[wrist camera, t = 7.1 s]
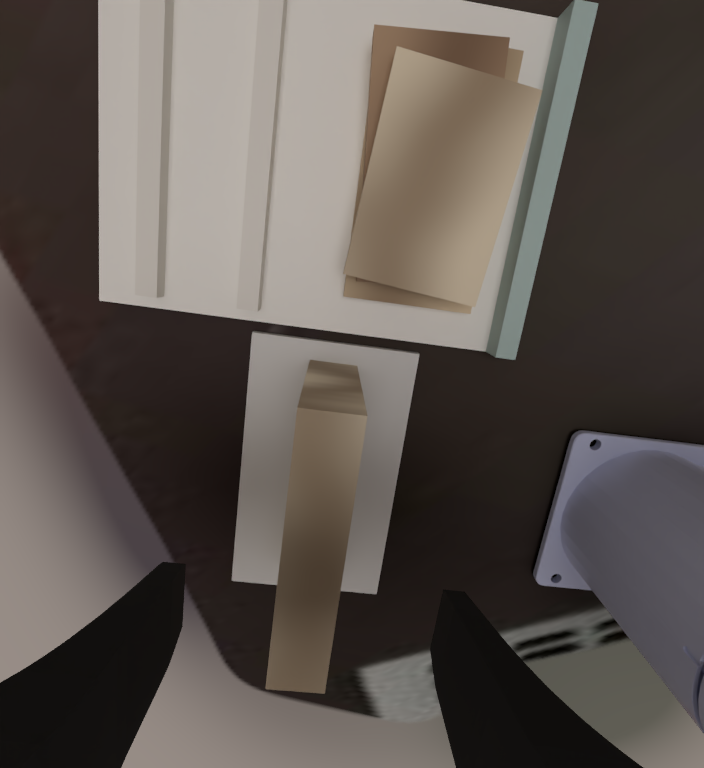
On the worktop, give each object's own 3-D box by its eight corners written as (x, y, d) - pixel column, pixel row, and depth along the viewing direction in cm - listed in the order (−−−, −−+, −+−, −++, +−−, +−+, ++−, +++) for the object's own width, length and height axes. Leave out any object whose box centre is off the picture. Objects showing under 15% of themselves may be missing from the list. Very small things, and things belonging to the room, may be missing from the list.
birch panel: (357, 365, 19) (367, 416, 13) (327, 568, 22) (324, 693, 15) (309, 359, 19) (297, 407, 13) (285, 564, 22) (265, 688, 15)
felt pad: (417, 352, 20) (419, 354, 19) (376, 588, 23) (376, 594, 22) (253, 330, 19) (252, 332, 19) (233, 575, 22) (231, 580, 22)
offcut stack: (524, 62, 16) (555, 29, 14) (473, 313, 19) (492, 320, 16) (372, 35, 16) (378, -4, 14) (338, 294, 18) (339, 299, 16)
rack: (583, 32, 17) (613, 6, 15) (510, 352, 20) (527, 361, 18) (106, -56, 16) (78, -96, 14) (106, 299, 19) (82, 303, 17)
